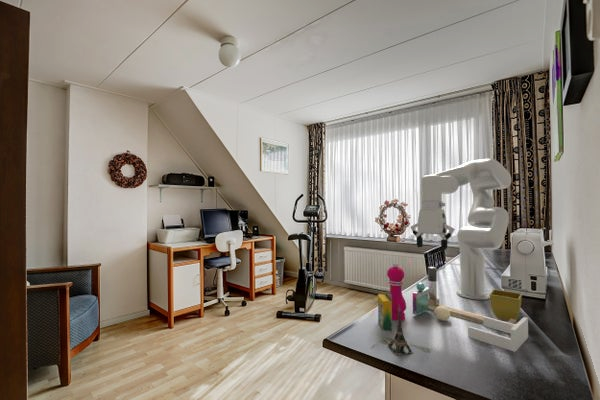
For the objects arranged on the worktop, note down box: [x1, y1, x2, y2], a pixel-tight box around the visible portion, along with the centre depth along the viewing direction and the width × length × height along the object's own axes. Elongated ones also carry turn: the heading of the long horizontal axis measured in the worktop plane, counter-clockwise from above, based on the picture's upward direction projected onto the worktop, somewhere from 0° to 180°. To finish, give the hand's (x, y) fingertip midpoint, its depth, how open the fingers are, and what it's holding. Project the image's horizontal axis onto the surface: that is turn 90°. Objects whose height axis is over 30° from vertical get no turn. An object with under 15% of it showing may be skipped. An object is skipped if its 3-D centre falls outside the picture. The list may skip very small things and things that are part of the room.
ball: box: [434, 305, 451, 322], centre depth 102 cm, size 5×5×5 cm
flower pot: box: [488, 289, 523, 322], centre depth 103 cm, size 9×9×9 cm
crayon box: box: [377, 289, 393, 332], centre depth 96 cm, size 7×3×12 cm, turn 178°
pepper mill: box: [386, 262, 407, 322], centre depth 104 cm, size 7×7×20 cm
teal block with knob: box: [412, 266, 441, 316], centre depth 110 cm, size 16×4×15 cm, turn 129°
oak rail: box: [428, 303, 517, 325], centre depth 105 cm, size 4×32×3 cm, turn 39°
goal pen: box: [467, 315, 529, 353], centre depth 89 cm, size 14×12×6 cm
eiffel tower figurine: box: [369, 304, 433, 356], centre depth 81 cm, size 15×10×13 cm
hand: (431, 248), depth 114 cm, fingers open, 9 cm apart
